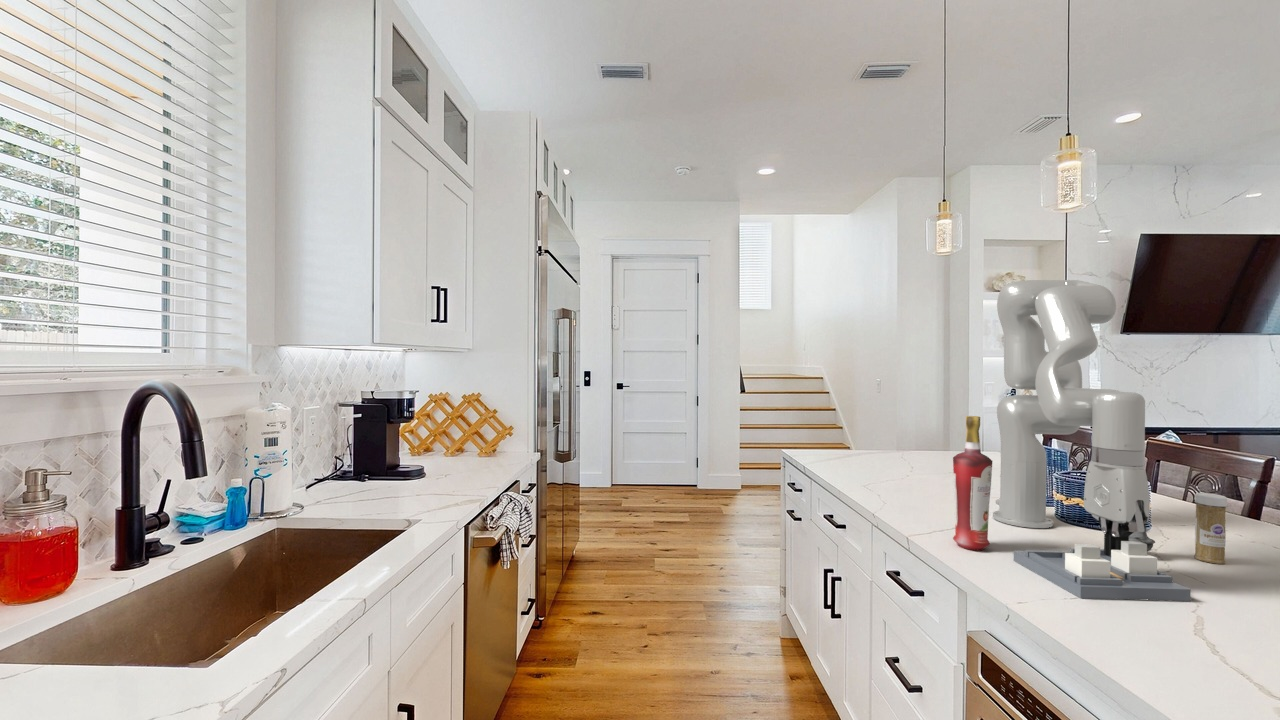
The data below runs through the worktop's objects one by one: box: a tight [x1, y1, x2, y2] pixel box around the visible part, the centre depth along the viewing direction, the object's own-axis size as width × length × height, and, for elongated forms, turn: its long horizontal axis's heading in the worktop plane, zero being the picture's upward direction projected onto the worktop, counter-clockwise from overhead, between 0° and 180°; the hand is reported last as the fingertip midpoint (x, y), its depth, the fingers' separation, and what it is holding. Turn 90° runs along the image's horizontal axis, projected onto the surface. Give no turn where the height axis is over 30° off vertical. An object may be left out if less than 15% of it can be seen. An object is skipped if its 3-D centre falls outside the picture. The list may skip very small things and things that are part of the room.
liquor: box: [952, 415, 993, 551], centre depth 122 cm, size 7×7×28 cm
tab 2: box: [1111, 541, 1158, 575], centre depth 102 cm, size 4×5×6 cm
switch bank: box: [1013, 547, 1192, 602], centre depth 104 cm, size 18×18×3 cm
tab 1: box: [1065, 543, 1110, 578], centre depth 99 cm, size 4×5×6 cm
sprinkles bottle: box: [1193, 492, 1228, 565], centre depth 115 cm, size 5×5×14 cm
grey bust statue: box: [1129, 521, 1156, 555], centre depth 118 cm, size 6×6×12 cm
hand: (1116, 556), depth 106 cm, fingers closed
